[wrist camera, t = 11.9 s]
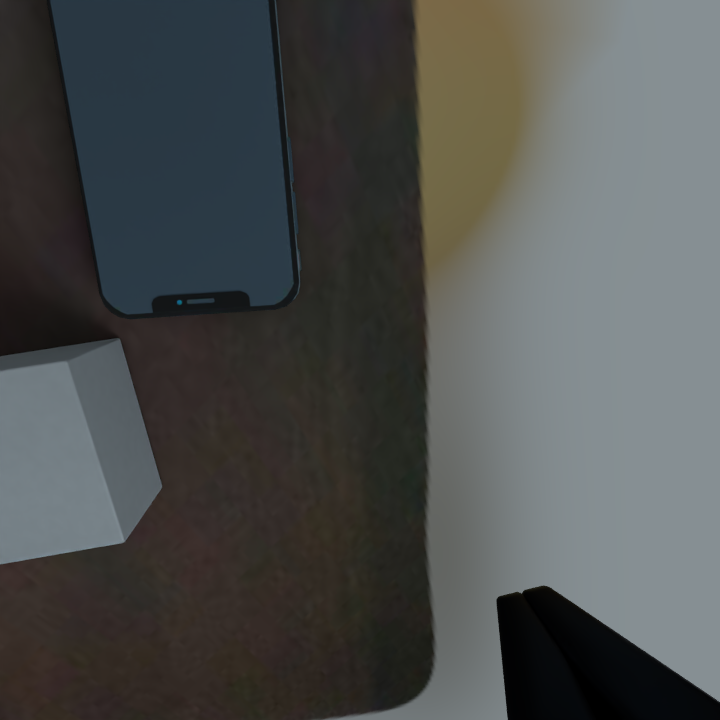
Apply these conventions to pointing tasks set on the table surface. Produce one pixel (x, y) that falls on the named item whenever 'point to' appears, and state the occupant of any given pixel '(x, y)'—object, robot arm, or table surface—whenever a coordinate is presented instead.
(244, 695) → the table surface
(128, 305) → the smartphone
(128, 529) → the box with lid
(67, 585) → the table surface
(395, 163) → the table surface
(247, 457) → the table surface
